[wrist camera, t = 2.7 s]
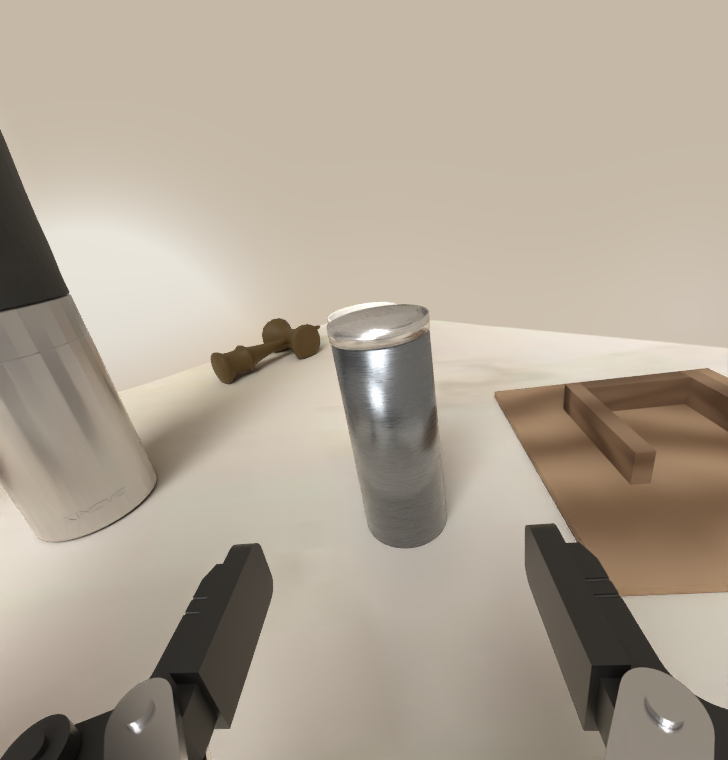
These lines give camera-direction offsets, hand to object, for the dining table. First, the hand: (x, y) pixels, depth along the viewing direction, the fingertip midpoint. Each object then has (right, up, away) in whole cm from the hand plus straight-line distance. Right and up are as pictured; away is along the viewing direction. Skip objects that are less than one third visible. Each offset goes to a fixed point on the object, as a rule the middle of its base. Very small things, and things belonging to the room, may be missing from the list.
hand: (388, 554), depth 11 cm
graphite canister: (+2, -4, +14) cm, 15 cm away
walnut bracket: (+22, +1, +17) cm, 28 cm away
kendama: (-15, +8, +50) cm, 53 cm away
